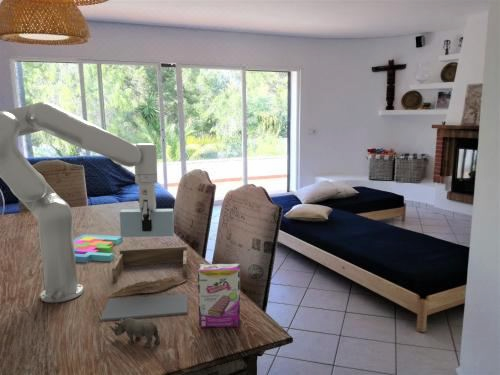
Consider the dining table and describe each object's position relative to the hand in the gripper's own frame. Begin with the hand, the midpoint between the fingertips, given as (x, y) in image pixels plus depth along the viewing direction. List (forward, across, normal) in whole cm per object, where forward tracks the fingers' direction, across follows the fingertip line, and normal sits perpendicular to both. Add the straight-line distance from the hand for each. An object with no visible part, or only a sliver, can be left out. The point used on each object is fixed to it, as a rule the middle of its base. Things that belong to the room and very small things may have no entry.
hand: (147, 228), depth 142 cm
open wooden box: (+17, +2, -1) cm, 17 cm away
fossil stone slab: (+17, -14, -1) cm, 22 cm away
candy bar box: (+17, -40, -23) cm, 50 cm away
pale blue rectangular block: (+2, 0, 0) cm, 2 cm away
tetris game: (+18, +31, +26) cm, 44 cm away
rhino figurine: (+18, -45, -1) cm, 49 cm away
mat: (+17, -28, -2) cm, 32 cm away
